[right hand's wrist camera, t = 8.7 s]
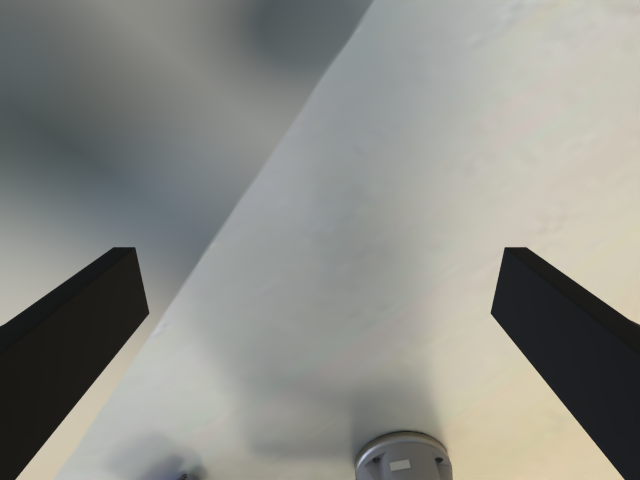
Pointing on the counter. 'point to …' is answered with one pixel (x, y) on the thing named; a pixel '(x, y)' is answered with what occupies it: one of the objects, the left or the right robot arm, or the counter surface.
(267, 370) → the counter surface
